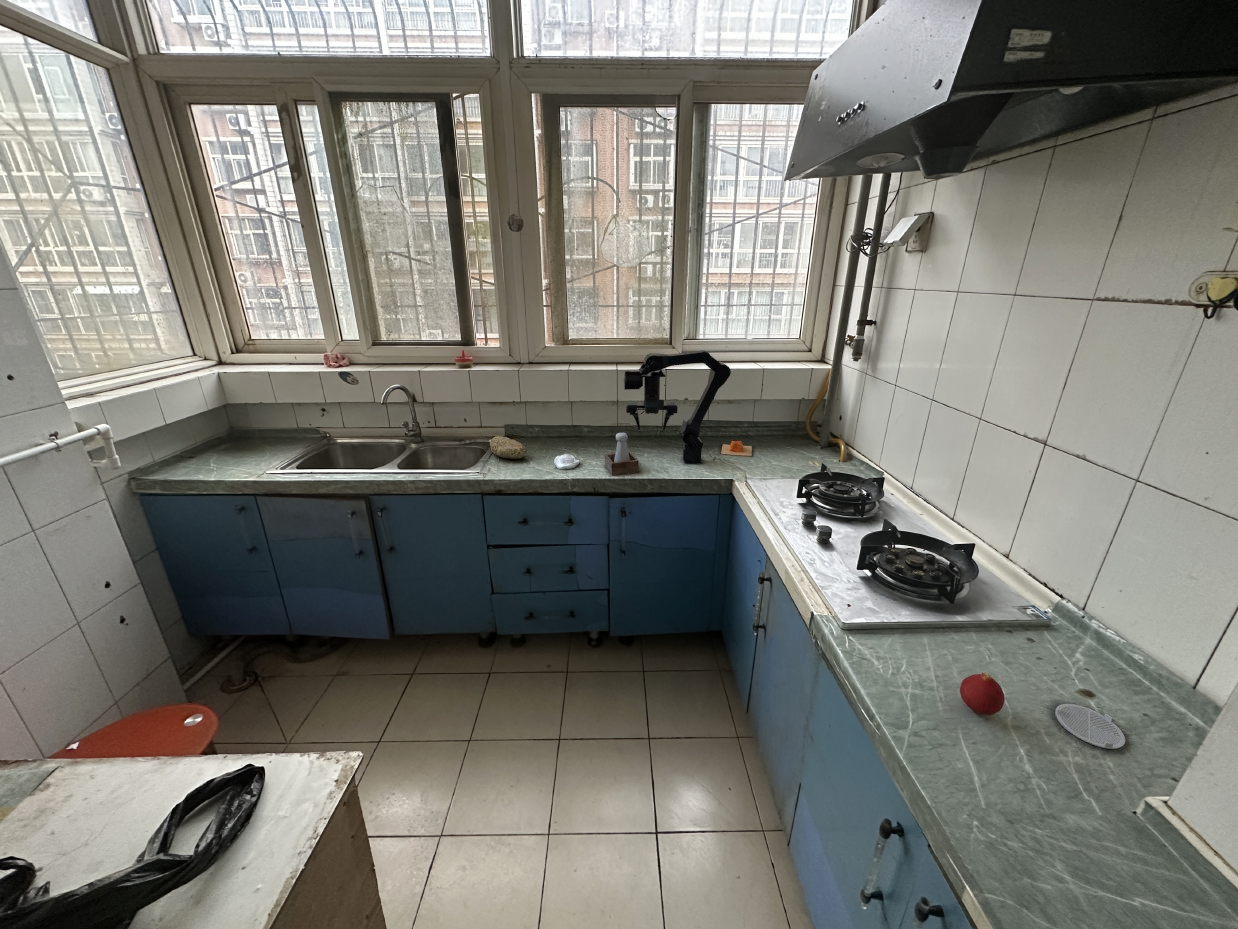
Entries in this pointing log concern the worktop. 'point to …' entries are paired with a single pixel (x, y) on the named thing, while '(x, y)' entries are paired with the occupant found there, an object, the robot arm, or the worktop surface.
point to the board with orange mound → (736, 449)
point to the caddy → (621, 465)
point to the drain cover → (1090, 726)
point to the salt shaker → (621, 448)
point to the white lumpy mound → (566, 461)
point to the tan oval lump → (507, 448)
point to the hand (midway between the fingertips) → (651, 429)
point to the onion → (982, 694)
